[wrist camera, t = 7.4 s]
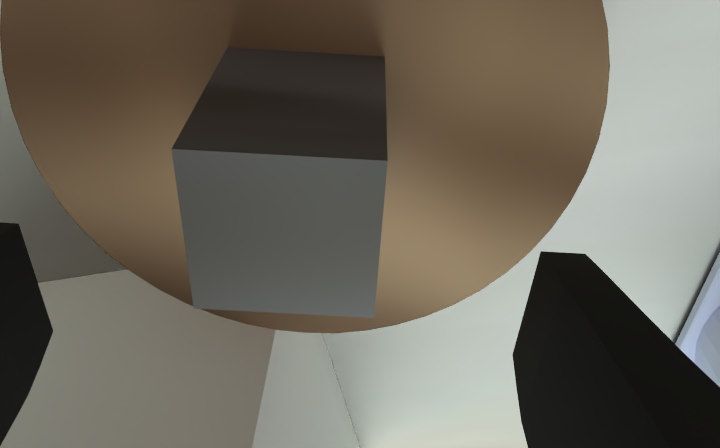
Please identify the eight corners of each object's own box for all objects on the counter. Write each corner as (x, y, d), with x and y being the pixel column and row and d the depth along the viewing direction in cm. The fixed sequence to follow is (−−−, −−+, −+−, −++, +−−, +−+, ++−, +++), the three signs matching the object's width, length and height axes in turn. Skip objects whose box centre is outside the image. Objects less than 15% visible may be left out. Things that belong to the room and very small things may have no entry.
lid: (528, 317, 17) (575, 485, 13) (88, 294, 17) (-2, 457, 13) (679, -218, 10) (879, -215, 6) (-61, -264, 10) (-355, -290, 6)
